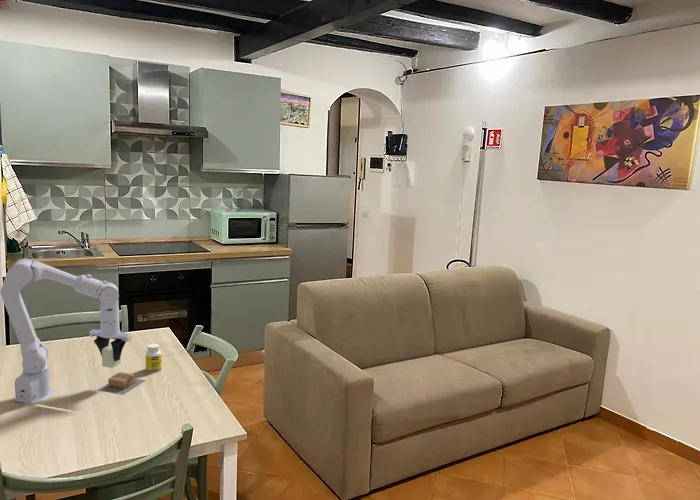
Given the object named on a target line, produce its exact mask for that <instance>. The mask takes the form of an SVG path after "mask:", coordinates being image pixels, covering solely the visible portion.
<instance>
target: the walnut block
mask: <svg viewBox="0 0 700 500" xmlns="http://www.w3.org/2000/svg"><path fill="white" fill-rule="evenodd" d="M107 379H108V381H107V382H108V383H107V384H108V387H110V388H116V389H121V390H125V389H127V388H128V387H130V386H131V385H133V384H135V379H136V374H133V373H128V372H121V371H120V372H118V373H116V374H114V375H112V376H111V377H109V378H107Z"/></svg>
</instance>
